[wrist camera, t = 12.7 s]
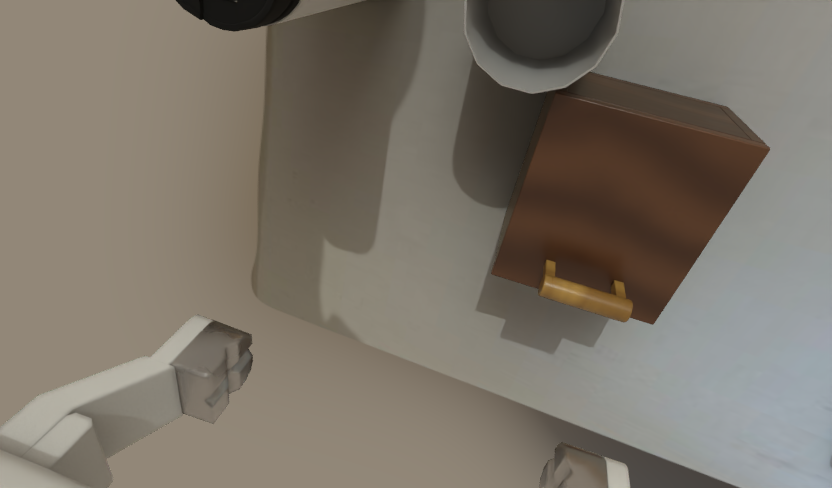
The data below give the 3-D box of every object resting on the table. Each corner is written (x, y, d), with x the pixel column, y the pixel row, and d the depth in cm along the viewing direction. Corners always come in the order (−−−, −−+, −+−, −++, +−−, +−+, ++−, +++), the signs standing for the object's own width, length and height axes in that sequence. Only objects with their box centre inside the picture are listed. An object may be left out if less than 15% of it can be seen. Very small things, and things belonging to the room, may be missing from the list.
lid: (651, 318, 36) (661, 359, 32) (492, 268, 37) (484, 303, 33) (766, 143, 27) (796, 173, 24) (555, 89, 29) (554, 109, 25)
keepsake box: (642, 255, 42) (656, 310, 35) (505, 214, 43) (494, 260, 37) (728, 106, 34) (766, 143, 27) (557, 63, 35) (555, 88, 29)
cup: (474, 42, 36) (447, 70, 28) (506, -86, 31) (485, -97, 23) (581, 71, 35) (587, 109, 27) (631, -57, 30) (655, -58, 22)
